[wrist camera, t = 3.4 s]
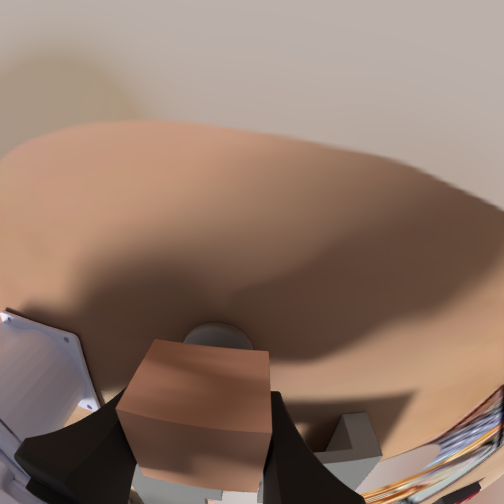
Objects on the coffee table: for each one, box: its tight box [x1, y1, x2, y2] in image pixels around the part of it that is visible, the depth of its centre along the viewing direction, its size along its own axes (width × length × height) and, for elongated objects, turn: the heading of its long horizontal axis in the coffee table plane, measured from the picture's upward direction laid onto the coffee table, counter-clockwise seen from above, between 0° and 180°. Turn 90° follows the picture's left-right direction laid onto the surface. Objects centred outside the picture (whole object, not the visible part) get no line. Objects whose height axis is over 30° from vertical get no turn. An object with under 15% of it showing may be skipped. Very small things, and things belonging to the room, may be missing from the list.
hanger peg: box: [115, 322, 272, 492], centre depth 11 cm, size 5×5×8 cm
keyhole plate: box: [132, 412, 383, 504], centre depth 17 cm, size 18×14×4 cm
